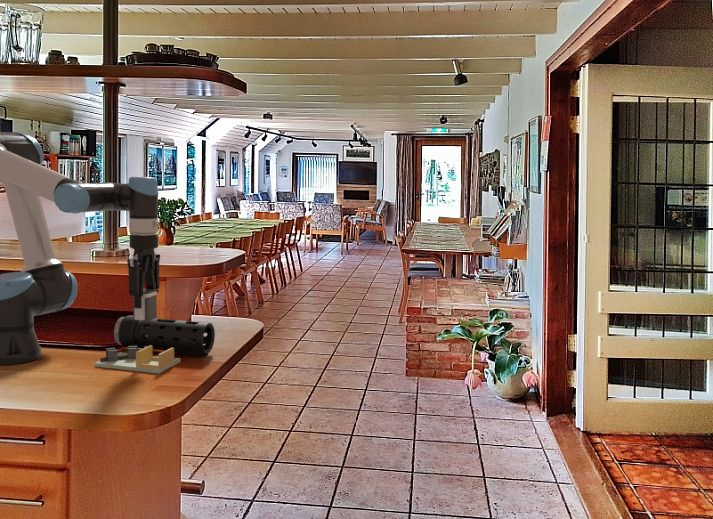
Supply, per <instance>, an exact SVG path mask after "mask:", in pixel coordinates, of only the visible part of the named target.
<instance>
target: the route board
mask: <svg viewBox="0 0 713 519" xmlns="http://www.w3.org/2000/svg"><path fill="white" fill-rule="evenodd" d="M146 347H147V346H145V347H144V348H146ZM141 349H142V348H137V346H128V347H127V352H123V351H119V352H118V349H116V347H110V348H105V357H108V361H104V362H101V361H100V360H99V361H96V362H94V367H96V368H97V367H98V368H104V369H116V370H122V371H123V370H125V371H133V372H143V373H149V374H158V375H159V374H161V373H162V372H163V373H164V371H167V370H168V369H170V368H171V367H173V366H175V365H177V364H179V363H181V358H180V357H174V362H173V363H171V364H169V365H167V366H165V367H163V368H162V369H154V368H145V367H136V352H137V351H139V350H141ZM120 355H128V359H121V360H118V356H120ZM153 357H158V355H153ZM145 364H150V365H158V361H156V360H151V361H149V362H147V363H145Z"/></svg>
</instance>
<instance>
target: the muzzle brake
mask: <svg viewBox="0 0 713 519" xmlns="http://www.w3.org/2000/svg"><path fill="white" fill-rule="evenodd" d="M204 334H206V335H204ZM215 336H216V333H215V327H214V325H213V323H212V322H204V321H191V320H190V321H189V320H181V319H180V320H179V319H177V320H176V319H167V318H166V319H164V318H155V319H152V320H150V321H142V320H134V315H130V314H129V315H127V316H121V317H118V319H117V320H116V322H115V325H114V329H113V337H114V340H115V342H116V343H117V344H118V345H121V346H122V347H123V348H128V346H137V349H138V348H142V349H144V347H145V346H147V347H148V346H150V345H152V351H153V350H154V351H162V352H164V351H166V350H168V349H170V348H174V354H178V355H189V356H199V357H200V356H201V357H207V356H208V355H209V354H210V353H211V351H212V349H213V347H214V344H215Z"/></svg>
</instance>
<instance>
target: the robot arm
mask: <svg viewBox="0 0 713 519" xmlns="http://www.w3.org/2000/svg"><path fill="white" fill-rule="evenodd" d="M43 162H44V151H43V149H42V146H41V144H40V143H39V142H38V140H37V139H36V138H34V137H32V135H29V134H27V133H21V132H11V131H10V132H9V131H0V185H2V186H3V187H4V190H5V193H6V195H5V196H6V199H7V202H8V205H9V208H10V214H11V217H12V222H13V224H14V229H15V232H16V235H17V241H18V243H19V248H20V252H21V255H22V259H23V262H24V267H23V268H22V269H21V271H13V272H6V273H5V272H4V273H1V274H0V366H6V365H18V364H23V363H30V362H33V361H35V360H38V359H40V358H41V357H42V346H41V345H40V343H39V340H38V337H37V334H36V331H35V326H34V324H35V323H34V322H35V321H34V320H35V319H34V317H36V316H40V315H44V314H45V315H46V314H50V313H56V312H60V311H62V310H65V309H68V308H69V307H71V306H72V305H73V303H74V302H75V299H77V295H78V282H77V279H76V277H75V276H74V274H72V272H70V271H68V270H67V269H66V270H65V266H64V263H63V262H62V261H60V260H59V259H57V258H56V257H57V256H56V253H55V250H54V249H55V248H54V246H53V242H52V239H51V235H50V231H49V227H48V223H47V219H46V216H45V212H44V208H43V204H42V200H41V198H44V199H46V200H49V201H51V202H53V203H54V204H55V206H56V207H57V208H58V210H59V211H61V212H63V213H66V214H80V213H92V212H108V211H109V212H110V211H121V212H122V211H123V212H125V211H126V212H128V215H129V216H128V217H129V219H128V220H129V221H128V222H129V223H128V227H129V228H128V232H129V233H131V234H130V235H129V248H130V249H132V250H133V255H132V258H127V260H126V263H127V267H128V268H127V269H128V295H129V296H130V297H133V296H134V308H135V320H145V296H143V289H156V291H157V294H158V293H159V289H160V261H161V254H156V253H155V249H157V248H159V235H158V234H157V233H158V232H159V224H160V223H159V220H158V219H159V215H158V212H159V210H158V209H159V207H158V206H159V188H158V180H157V178H155V177H151V176H131V177H129V178H128V182H127V183H119V182H110V181H109V182H106V181H105V182H96V183H95V182H94V183H92V182H85V183H84V182H81V181H78V180H76V179H74V178H71V177H70V176H67V175H65V174H62V173H59V172H57V171H56V170H52V169H50V168H48V167H46V166H44V165H43ZM144 287H145V288H144Z"/></svg>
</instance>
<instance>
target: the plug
mask: <svg viewBox="0 0 713 519" xmlns="http://www.w3.org/2000/svg"><path fill="white" fill-rule="evenodd" d="M156 290H157V289H146V288H144V289H143V296H145V320H142V321H150V320H152V319H155V318H157V317H158V313H157V311H158V310H157V309H158V308H157V305H158V304H157V295H158V293H157V291H156ZM132 307H133V308H132V309H133V312H132V313H133V316H134V320H135V308H134V296H132ZM157 319H158V318H157Z"/></svg>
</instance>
